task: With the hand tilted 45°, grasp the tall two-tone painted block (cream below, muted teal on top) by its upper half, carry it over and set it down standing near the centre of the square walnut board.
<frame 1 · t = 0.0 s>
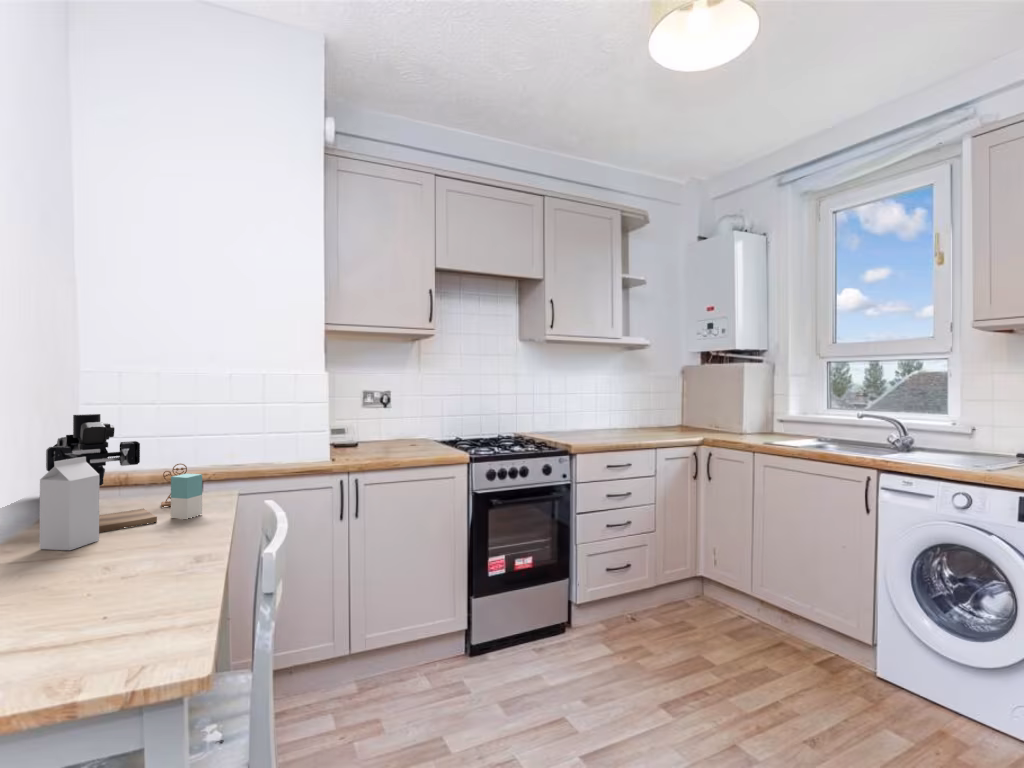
hand: (102, 459, 127), 17 cm above the table, tool horizontal, fingers open, 9 cm apart
milk carton: (70, 546, 113), on the table
gingerbread man figurine: (179, 505, 150), on the table
board: (121, 522, 131), on the table
block: (186, 516, 137), on the table
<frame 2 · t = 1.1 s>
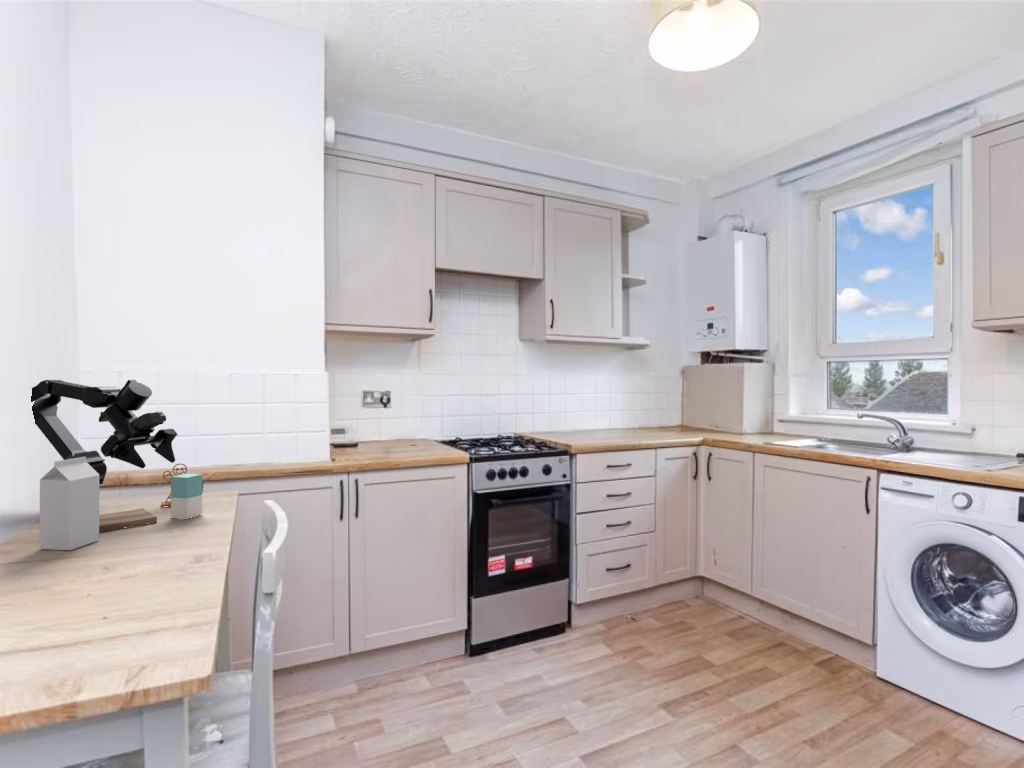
hand: (159, 464, 139), 14 cm above the table, tool tilted 45°, fingers open, 9 cm apart
nothing on the table moved.
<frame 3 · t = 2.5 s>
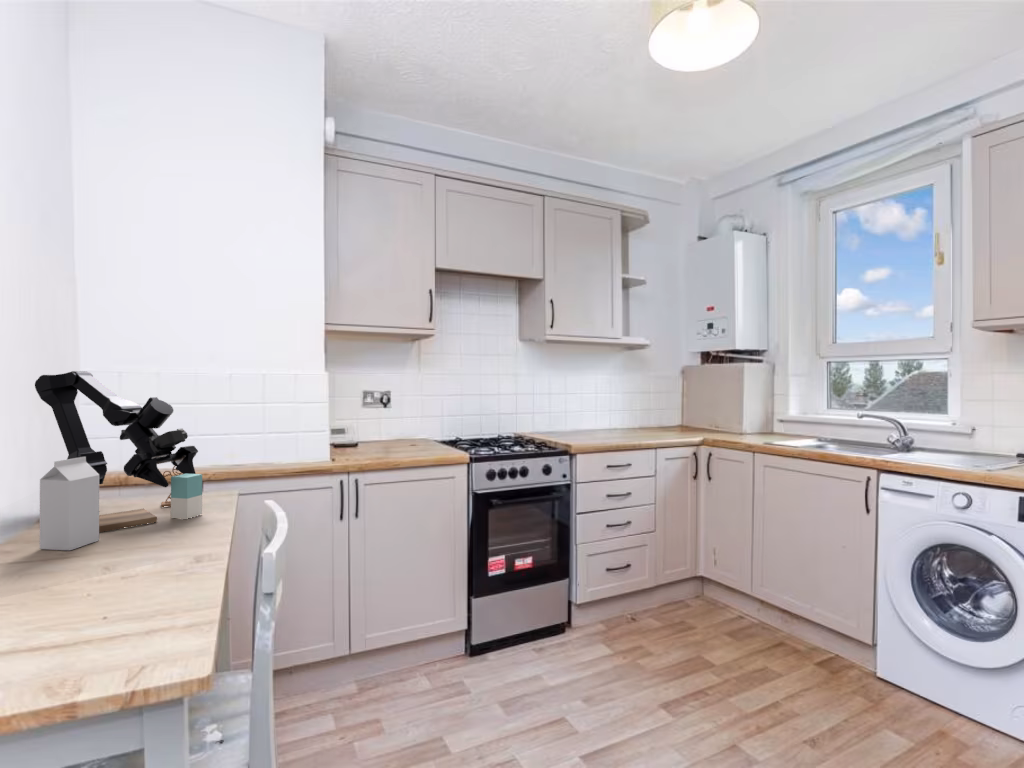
hand: (181, 482, 137), 9 cm above the table, tool tilted 45°, fingers open, 9 cm apart
nothing on the table moved.
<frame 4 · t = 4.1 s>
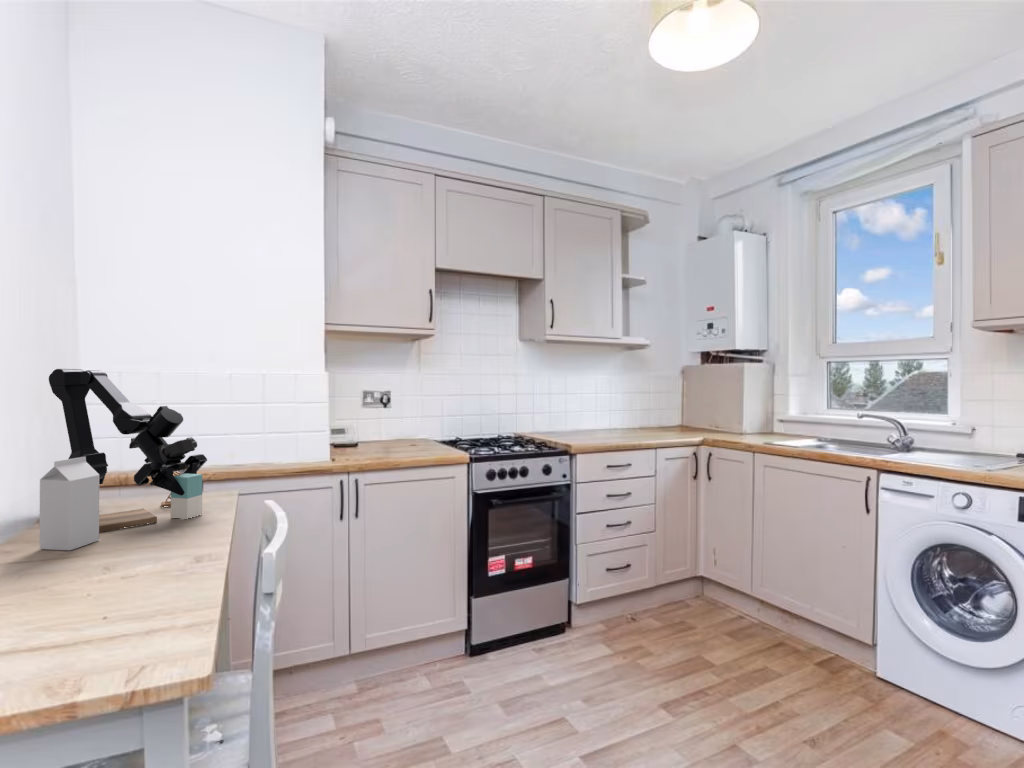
hand: (191, 492, 137), 7 cm above the table, tool tilted 45°, fingers closed on block, 5 cm apart
block: (186, 516, 137), on the table, touching gripper
everything else where it was.
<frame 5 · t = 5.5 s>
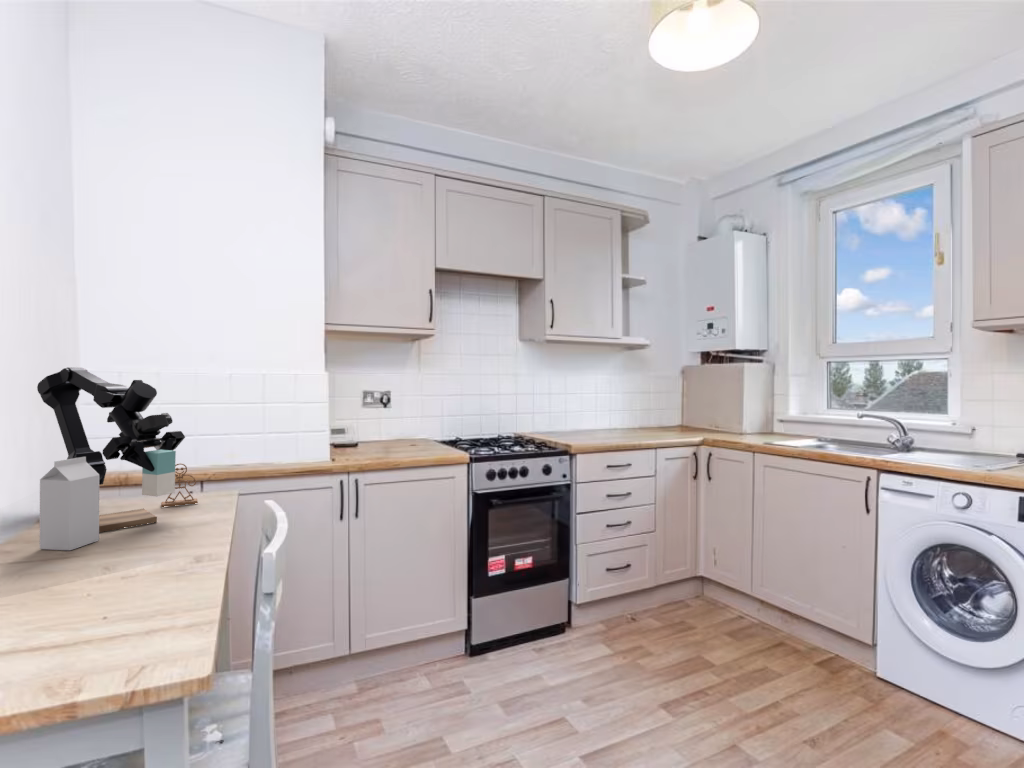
hand: (162, 468, 133), 13 cm above the table, tool tilted 45°, fingers closed on block, 5 cm apart
block: (158, 493, 134), point 7 cm above the table, touching gripper
everything else where it was.
when the fingers open (9 cm above the table, at t = 7.1 s): block drops 1 cm, resting on board.
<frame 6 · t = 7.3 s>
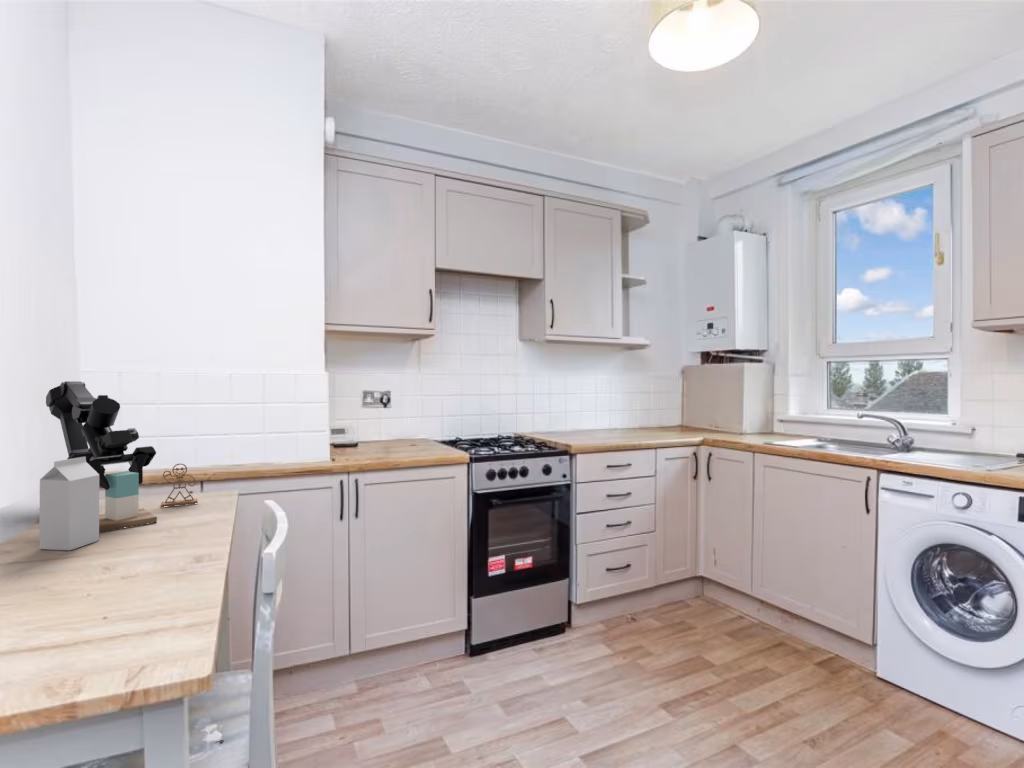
hand: (125, 485, 130), 10 cm above the table, tool tilted 45°, fingers open, 7 cm apart
block: (121, 517, 131), point 1 cm above the table, touching board
everything else where it was.
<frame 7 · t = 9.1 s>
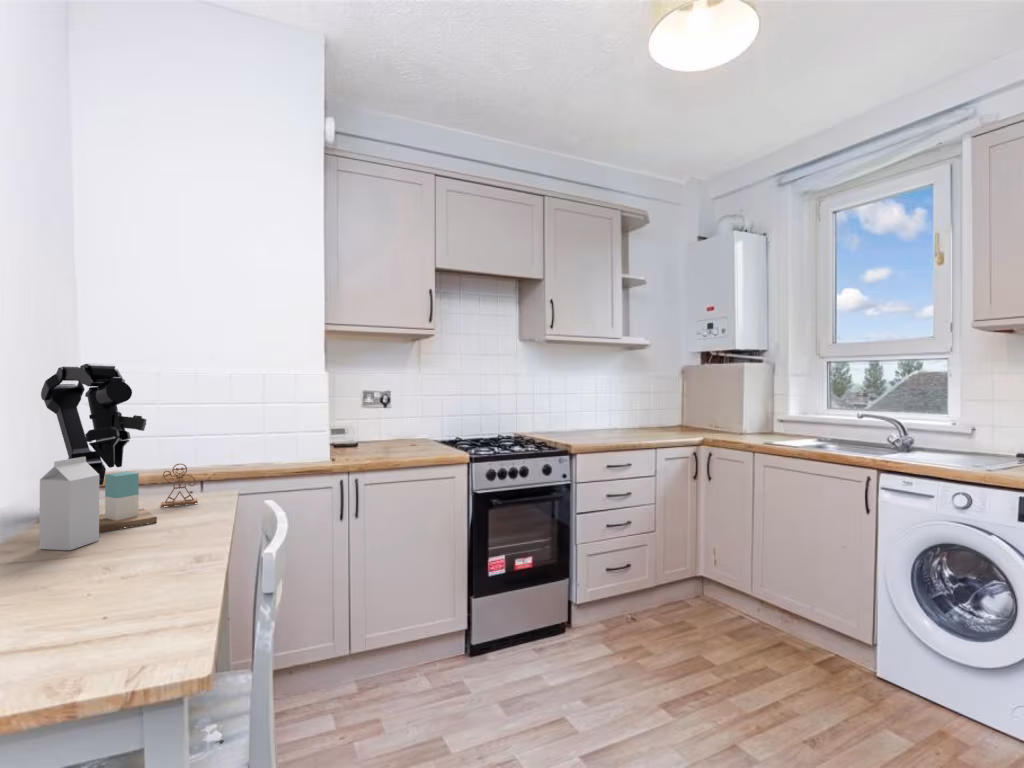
hand: (115, 467, 137), 13 cm above the table, tool pointing down, fingers open, 9 cm apart
nothing on the table moved.
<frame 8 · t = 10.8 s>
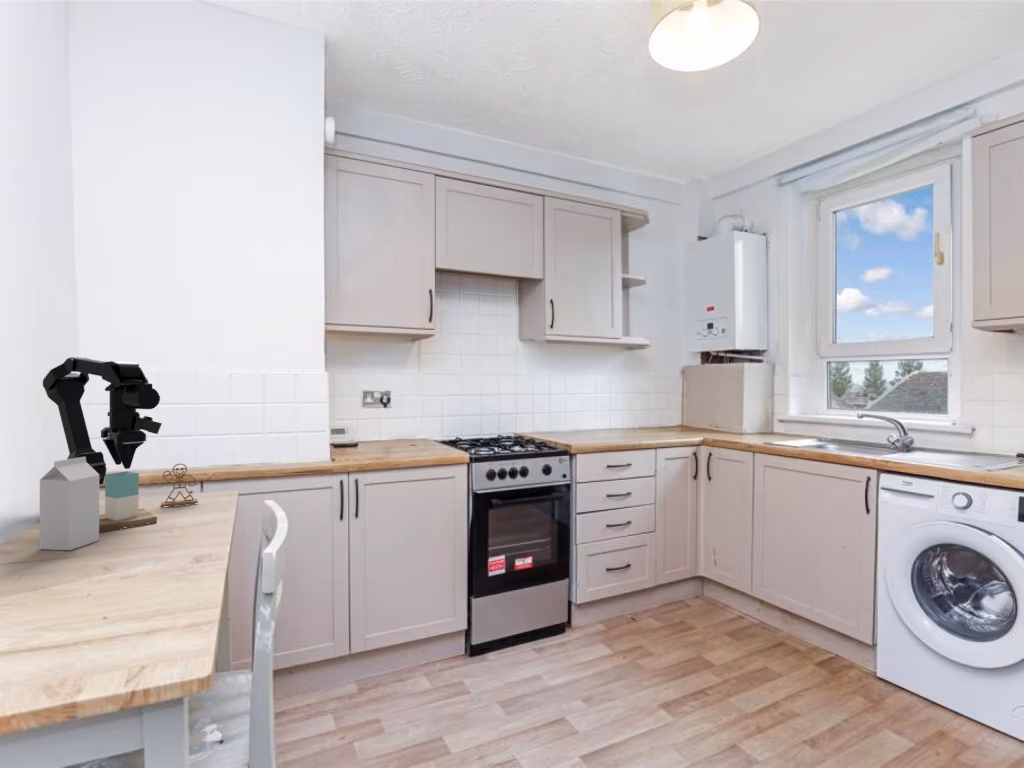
hand: (122, 466, 138), 13 cm above the table, tool pointing down, fingers open, 9 cm apart
nothing on the table moved.
at the end: block inside the target area on the board (0.0 cm from its centre), point 1.5 cm above the board's base; block tilted 0°; the gripper is holding nothing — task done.
